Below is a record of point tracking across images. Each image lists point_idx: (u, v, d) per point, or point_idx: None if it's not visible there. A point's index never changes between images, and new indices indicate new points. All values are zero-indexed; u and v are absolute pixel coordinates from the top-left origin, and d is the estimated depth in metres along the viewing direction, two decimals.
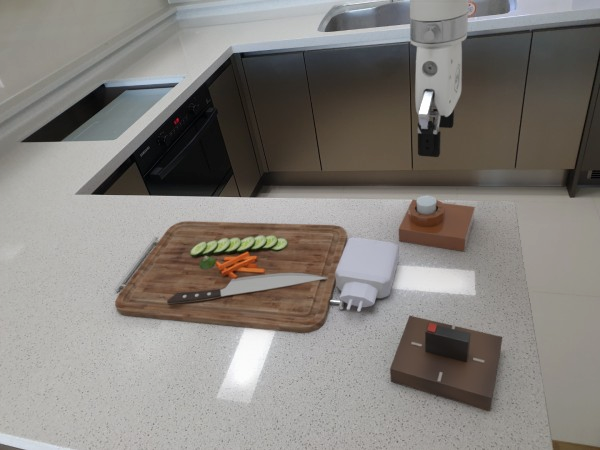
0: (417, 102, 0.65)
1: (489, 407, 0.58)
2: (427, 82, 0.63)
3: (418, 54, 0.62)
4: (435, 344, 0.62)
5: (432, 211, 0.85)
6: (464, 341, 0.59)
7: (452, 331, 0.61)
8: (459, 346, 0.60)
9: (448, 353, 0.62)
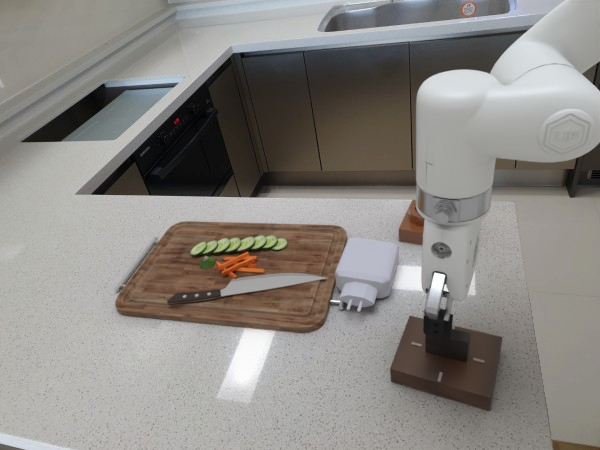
0: (424, 281, 0.51)
1: (489, 407, 0.58)
2: (437, 264, 0.48)
3: (426, 231, 0.47)
4: (435, 344, 0.62)
5: None
6: (464, 341, 0.59)
7: (452, 331, 0.61)
8: (459, 346, 0.60)
9: (448, 353, 0.62)
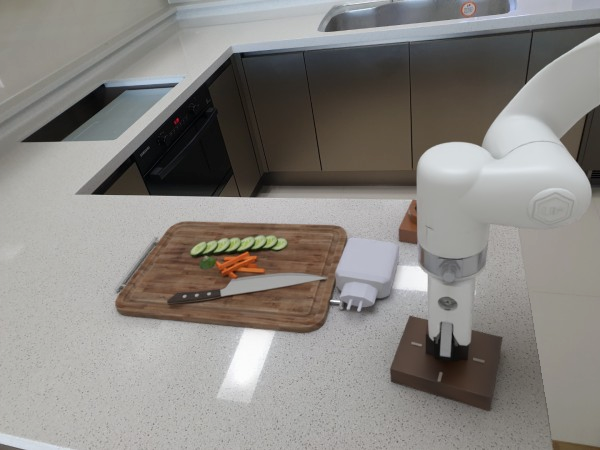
0: (431, 331, 0.54)
1: (489, 407, 0.58)
2: (444, 316, 0.52)
3: (432, 287, 0.51)
4: None
5: None
6: None
7: None
8: None
9: None
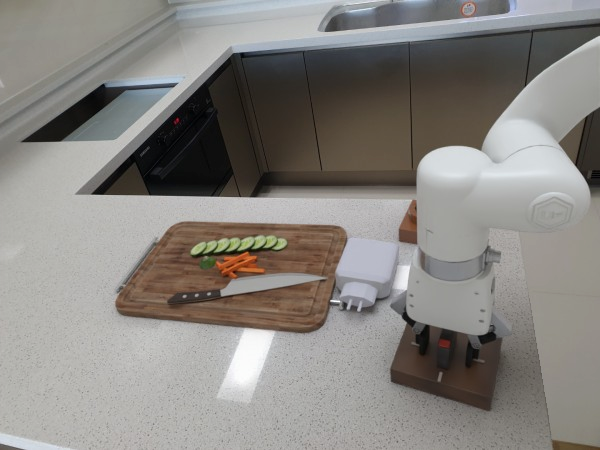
0: (489, 324, 0.54)
1: (489, 407, 0.58)
2: (493, 298, 0.54)
3: (486, 283, 0.51)
4: (451, 351, 0.61)
5: None
6: None
7: None
8: None
9: (453, 347, 0.63)
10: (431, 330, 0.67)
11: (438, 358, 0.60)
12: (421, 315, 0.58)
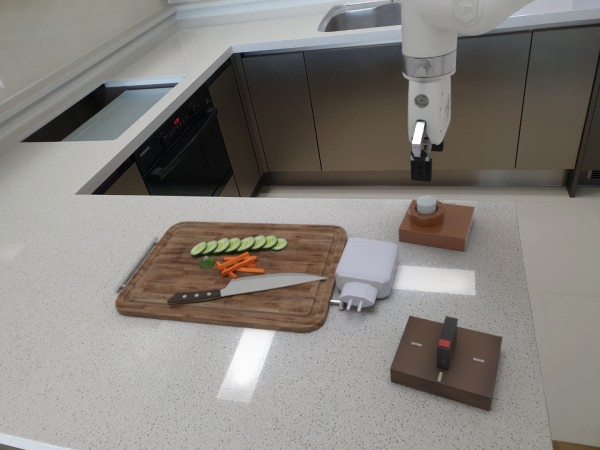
0: (410, 131, 0.69)
1: (489, 407, 0.58)
2: (419, 113, 0.67)
3: (410, 87, 0.66)
4: (451, 351, 0.61)
5: (432, 211, 0.85)
6: (457, 321, 0.62)
7: (446, 328, 0.61)
8: (456, 329, 0.62)
9: (453, 347, 0.63)
10: (431, 330, 0.67)
11: (438, 358, 0.60)
12: None
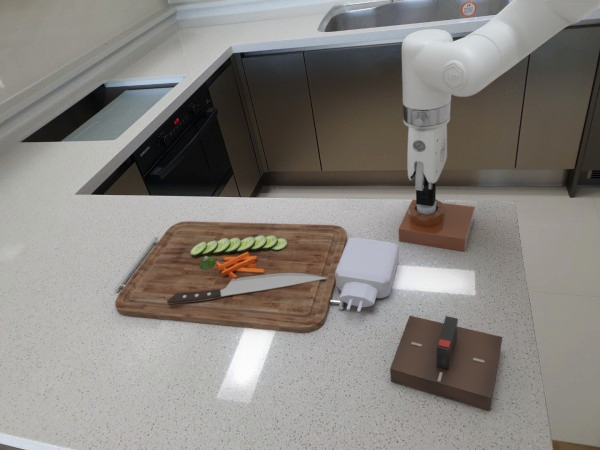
0: (409, 171, 0.78)
1: (489, 407, 0.58)
2: (417, 156, 0.76)
3: (409, 134, 0.75)
4: (451, 351, 0.61)
5: None
6: (457, 321, 0.62)
7: (446, 328, 0.61)
8: (456, 329, 0.62)
9: (453, 347, 0.63)
10: (431, 330, 0.67)
11: (438, 358, 0.60)
12: None
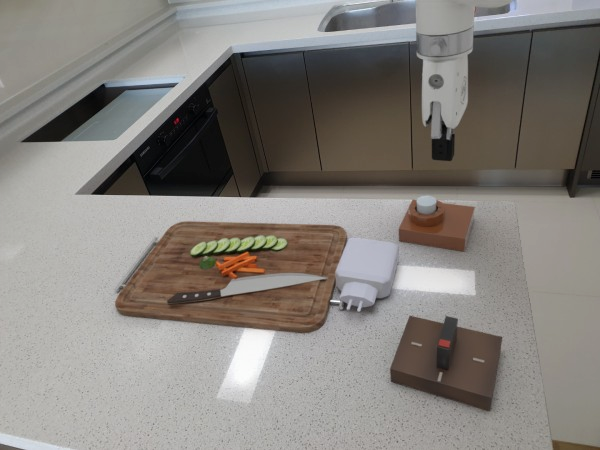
0: (424, 114, 0.66)
1: (489, 407, 0.58)
2: (433, 95, 0.64)
3: (424, 67, 0.63)
4: (451, 351, 0.61)
5: (432, 211, 0.85)
6: (457, 321, 0.62)
7: (446, 328, 0.61)
8: (456, 329, 0.62)
9: (453, 347, 0.63)
10: (431, 330, 0.67)
11: (438, 358, 0.60)
12: None
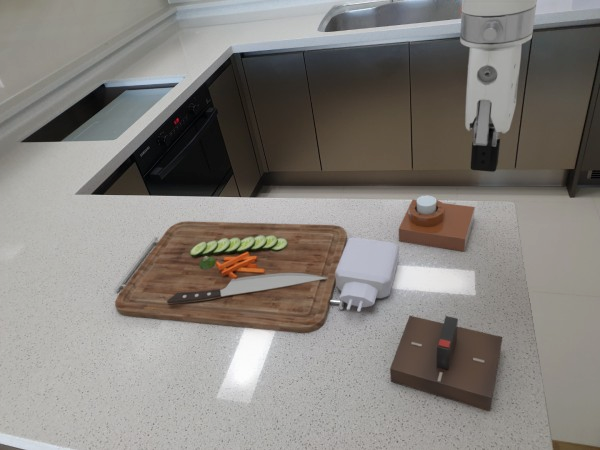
0: (468, 116, 0.54)
1: (489, 407, 0.58)
2: (483, 91, 0.51)
3: (472, 57, 0.50)
4: (451, 351, 0.61)
5: (432, 211, 0.85)
6: (457, 321, 0.62)
7: (446, 328, 0.61)
8: (456, 329, 0.62)
9: (453, 347, 0.63)
10: (431, 330, 0.67)
11: (438, 358, 0.60)
12: None
